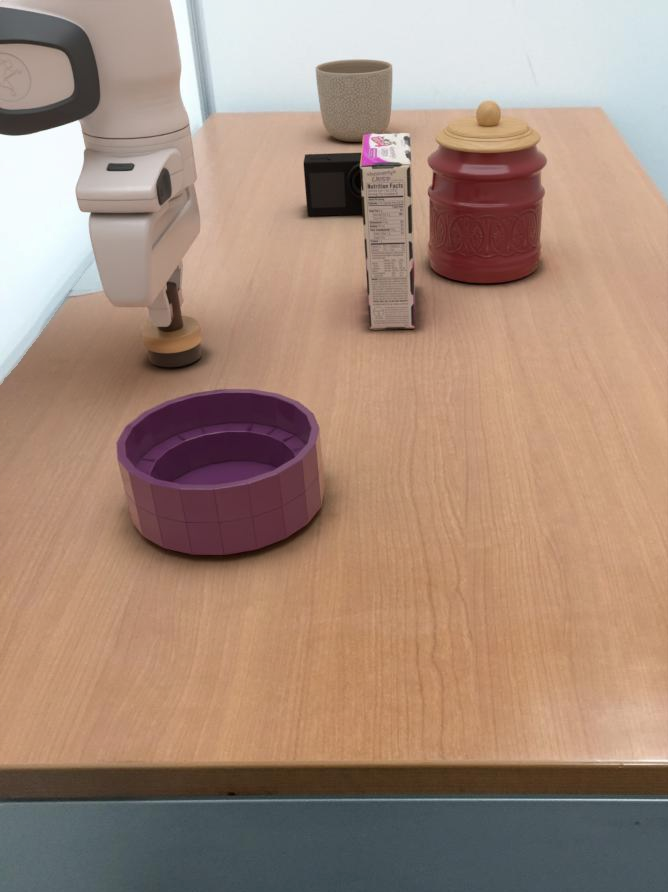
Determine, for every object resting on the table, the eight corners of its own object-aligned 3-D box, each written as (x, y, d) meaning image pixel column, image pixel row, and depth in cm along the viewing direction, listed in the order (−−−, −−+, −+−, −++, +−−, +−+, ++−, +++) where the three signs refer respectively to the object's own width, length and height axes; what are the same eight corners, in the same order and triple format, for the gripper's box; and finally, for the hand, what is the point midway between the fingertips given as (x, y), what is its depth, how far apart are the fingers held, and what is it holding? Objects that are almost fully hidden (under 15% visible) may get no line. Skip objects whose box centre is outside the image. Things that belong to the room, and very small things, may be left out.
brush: (140, 368, 90) (126, 297, 86) (155, 343, 94) (142, 275, 90) (197, 368, 90) (185, 297, 86) (209, 344, 94) (199, 275, 90)
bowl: (108, 560, 66) (89, 488, 63) (160, 454, 78) (146, 388, 74) (311, 563, 65) (304, 490, 62) (333, 456, 77) (328, 389, 73)
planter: (316, 131, 164) (311, 61, 158) (387, 126, 166) (385, 57, 160) (324, 149, 154) (319, 75, 148) (400, 144, 156) (398, 71, 150)
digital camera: (306, 219, 126) (301, 164, 121) (308, 207, 130) (304, 153, 126) (385, 217, 126) (383, 162, 122) (384, 204, 130) (382, 151, 126)
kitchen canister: (559, 258, 112) (572, 95, 102) (506, 294, 104) (514, 120, 93) (464, 239, 118) (466, 84, 108) (406, 272, 109) (403, 106, 99)
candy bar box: (368, 289, 105) (361, 132, 96) (414, 288, 105) (411, 131, 96) (366, 331, 96) (358, 162, 87) (415, 330, 96) (413, 161, 87)
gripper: (138, 132, 90) (162, 275, 98) (67, 197, 74) (103, 362, 82) (204, 132, 90) (223, 275, 98) (147, 197, 73) (175, 362, 81)
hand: (168, 315), depth 90 cm, fingers closed on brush, 2 cm apart
